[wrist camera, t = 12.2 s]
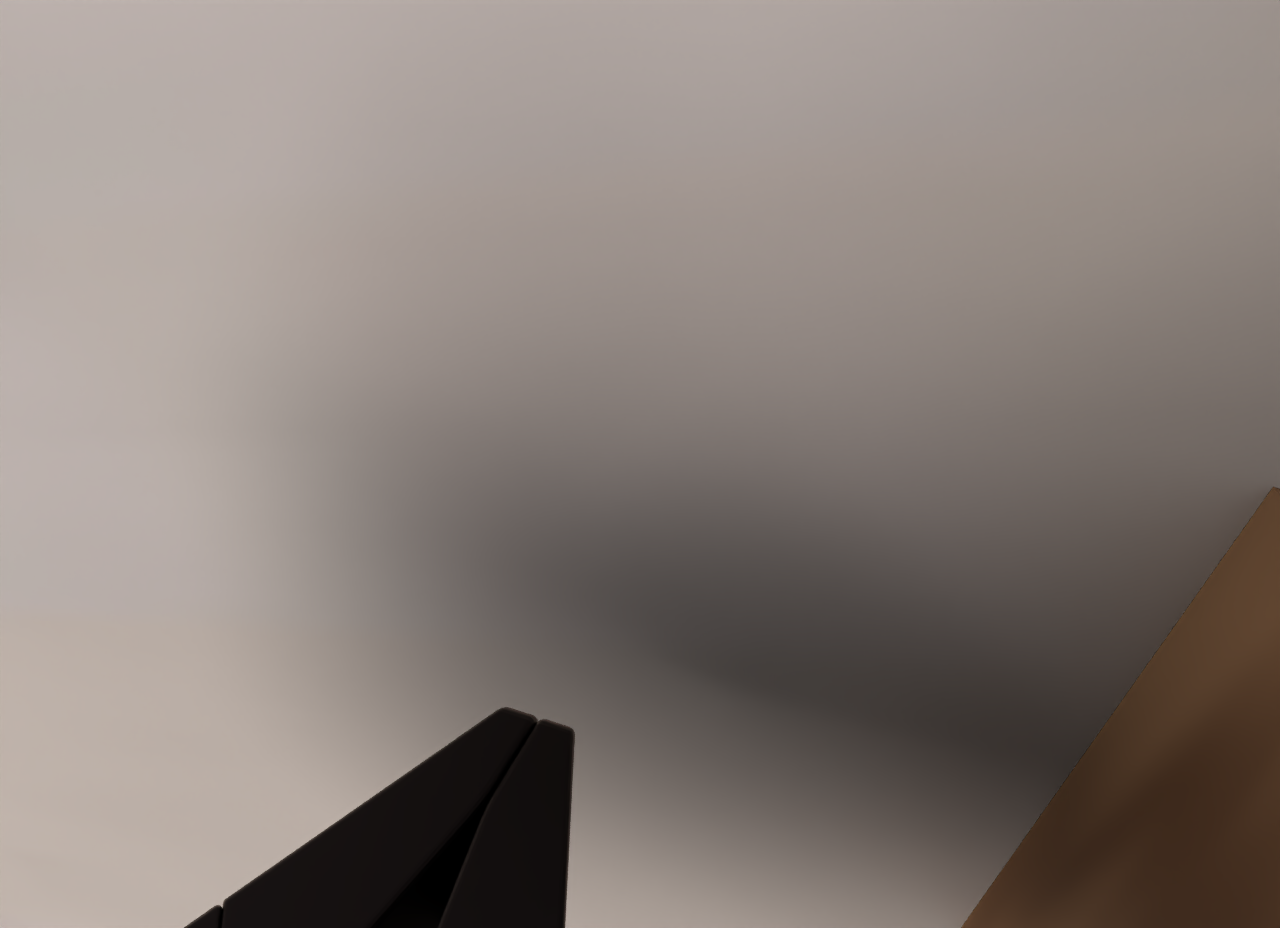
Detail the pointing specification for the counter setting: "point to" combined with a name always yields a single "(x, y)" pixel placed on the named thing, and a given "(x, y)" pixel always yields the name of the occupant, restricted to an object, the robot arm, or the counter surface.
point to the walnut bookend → (1173, 777)
